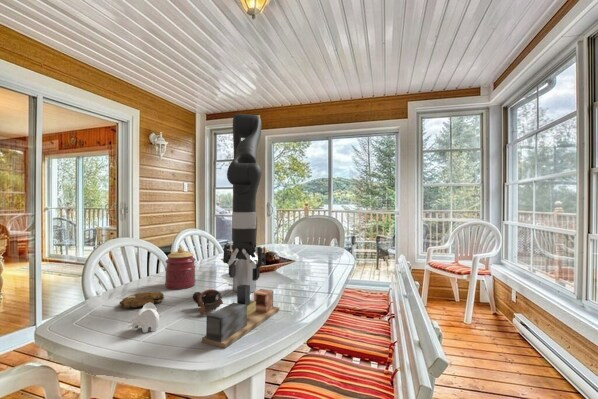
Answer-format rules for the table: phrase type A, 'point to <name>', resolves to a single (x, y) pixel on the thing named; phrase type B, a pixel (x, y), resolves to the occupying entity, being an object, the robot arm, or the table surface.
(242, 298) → the olive bar with post
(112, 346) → the table surface
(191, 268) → the canister
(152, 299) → the decorative rock
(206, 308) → the pottery mug
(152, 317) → the elephant figurine
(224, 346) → the block assembly on base
